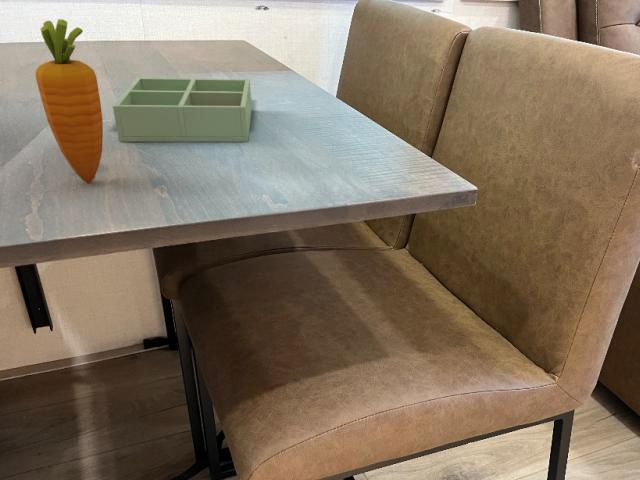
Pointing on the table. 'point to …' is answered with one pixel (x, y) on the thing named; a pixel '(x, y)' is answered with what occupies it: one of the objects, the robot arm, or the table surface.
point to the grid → (184, 110)
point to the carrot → (71, 101)
